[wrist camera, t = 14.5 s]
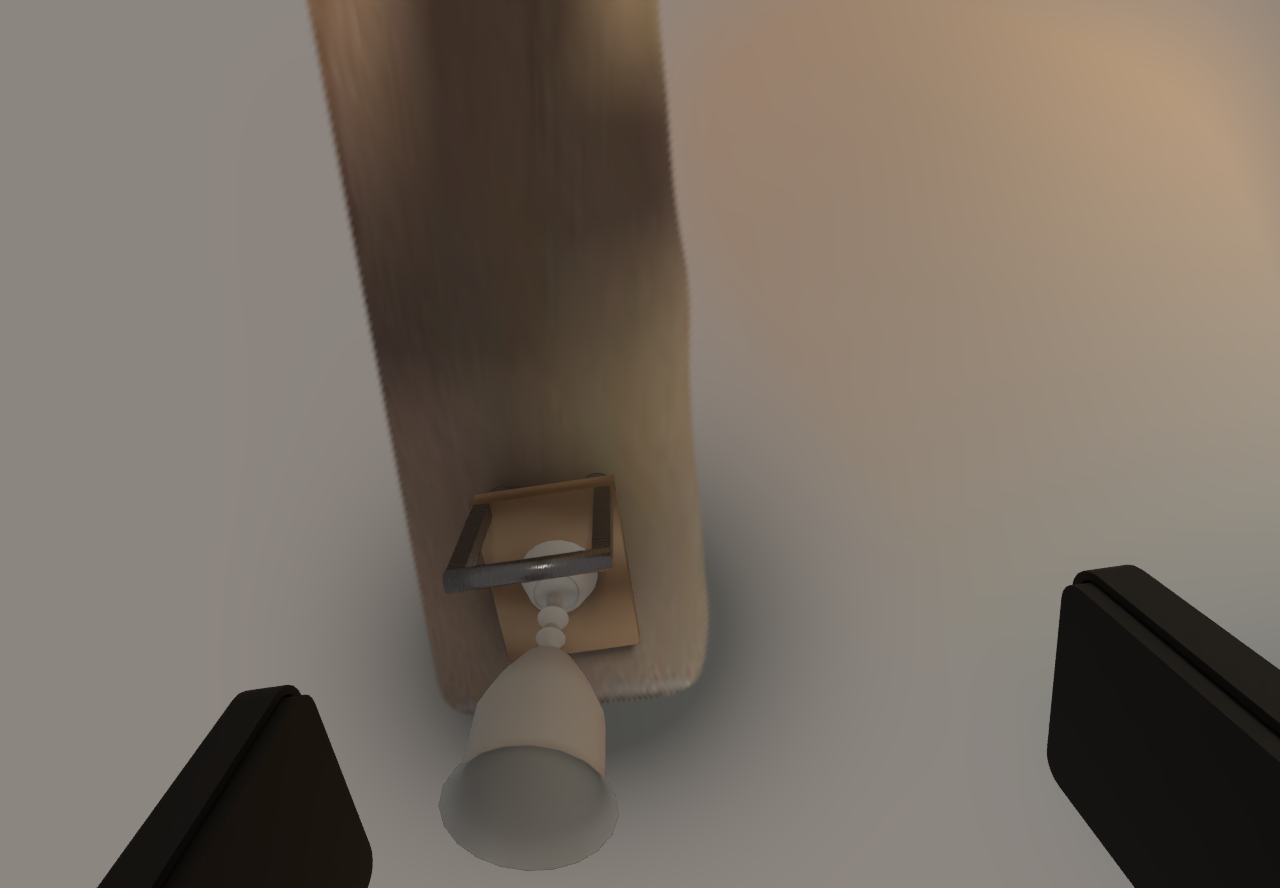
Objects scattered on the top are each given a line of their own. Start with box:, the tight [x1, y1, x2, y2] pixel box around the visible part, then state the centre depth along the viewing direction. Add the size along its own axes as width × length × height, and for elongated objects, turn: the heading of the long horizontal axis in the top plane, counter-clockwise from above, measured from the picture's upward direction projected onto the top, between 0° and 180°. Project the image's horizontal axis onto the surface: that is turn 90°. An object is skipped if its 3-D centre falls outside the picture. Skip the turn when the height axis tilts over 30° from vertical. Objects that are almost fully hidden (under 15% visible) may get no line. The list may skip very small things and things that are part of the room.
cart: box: [443, 473, 640, 662], centre depth 43 cm, size 12×9×13 cm
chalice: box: [439, 540, 618, 871], centre depth 36 cm, size 7×7×18 cm
